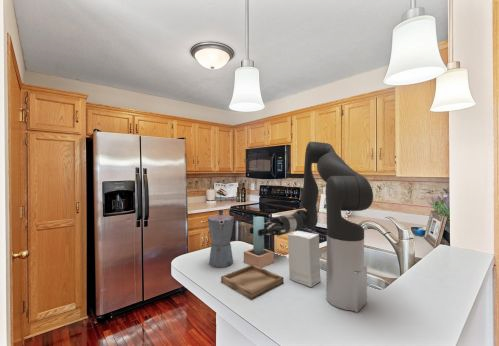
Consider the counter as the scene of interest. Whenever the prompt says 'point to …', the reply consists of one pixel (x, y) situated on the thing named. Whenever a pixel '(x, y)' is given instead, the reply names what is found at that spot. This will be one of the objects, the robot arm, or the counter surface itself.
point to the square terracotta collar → (259, 258)
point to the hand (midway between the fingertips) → (254, 231)
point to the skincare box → (304, 258)
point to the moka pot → (220, 239)
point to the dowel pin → (258, 240)
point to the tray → (252, 281)
